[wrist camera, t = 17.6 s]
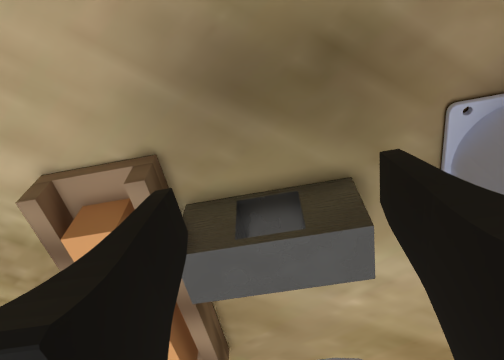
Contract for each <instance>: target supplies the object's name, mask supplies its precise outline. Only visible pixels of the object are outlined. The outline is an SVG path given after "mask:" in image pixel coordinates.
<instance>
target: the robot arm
mask: <svg viewBox="0 0 504 360" xmlns="http://www.w3.org/2000/svg"><path fill="white" fill-rule="evenodd" d="M466 107H469V109H468V111H467V112H465V113H463V110H464V109H465V108H466ZM380 203H381V205H382V208H383V211H384V213H385V216H386V218H387V221H388V223H389V226H390V227H391V229H392V231H393V233H394V235H395V236H396V238H397V240H398V242H399V243H400V245H401V247H402V249H403V250H404V252H405V254H406V256H407V257H408V259H409V261H410V263H411V264H412V266H413V268H414V269H415V271H416V273H417V275H418V276H419V278H420V280H421V282H422V284H423V286H424V288H425V290H426V292H427V294H428V297H429V299H430V301H431V304H432V306H433V308H434V311H435V313H436V315H437V317H438V320H439V322H440V325H441V327H442V330H443V332H444V334H445V337H446V339H447V342H448V344H449V347H450V349H451V352H452V354H453V357H454V360H504V94H499V95H493V96H488V97H482V98H477V99H471V100H466V101H460V102H456V103H453V104H451V105H450V106H449V107H448V109H447V112H446V122H445V133H444V144H443V155H442V166H441V169H439V168H436V167H434V166H432V165H430V164H428V163H426V162H424V161H422V160H421V159H419V158H417V157H415V156H413V155H411V154H409V153H407V152H404V151H402V150H400V149H395V150H389V151H383V152H380ZM187 243H188V231H187V228H186V225H185V222H184V220H183V217H182V214H181V212H180V209H179V206H178V203H177V201H176V198H175V195H174V193H173V190H172V188H168V189H162V190H156V191H154V192H153V193H152V194H151V195H149V196H148V197H147V198H146V199H145V200H144V201H143V202H142V203H141V204H140V205H139V206H138V207H137V208H136V209H135V210H134V211H133V212H132V213H131V214H130V215H129V216H128V217H127V218H126V219H125V220H124V221H123V222H122V223H121V224H120V225H119V226H117V227H116V228H115V229H114V230H113V231H112V232H111V233H110V234H109V235H107V236H106V237H105V238H104V239H103V240H102V241H101V242H100V243H98V244H97V245H96V246H95V247H94V248H92V249H91V250H90V251H89V252H87V253H86V254H85V255H83V256H82V257H81V258H79V259H78V260H77V261H75V262H74V263H73V264H71V265H70V266H68V267H67V268H65V269H64V270H62V271H61V272H59V273H58V274H56V275H55V276H53V277H52V278H50V279H49V280H47V281H45V282H44V283H42V284H41V285H39V286H37V287H36V288H34V289H32V290H30V291H29V292H27V293H25V294H23V295H21V296H20V297H18V298H16V299H14V300H12V301H10V302H9V303H7V304H5V305H3V306H1V307H0V360H168V352H169V343H170V334H171V326H172V320H173V314H174V309H175V305H176V301H177V296H178V292H179V288H180V283H181V279H182V275H183V270H184V265H185V261H186V255H187ZM321 360H362V359H354V358H329V359H321Z"/></svg>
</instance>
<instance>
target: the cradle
mask: <svg viewBox="0 0 504 360" xmlns="http://www.w3.org/2000/svg"><path fill="white" fill-rule="evenodd" d="M162 189H168V185H167V182H166V180H165V177H164V174H163V172H162V169H161V166H160V164H159V161H158V158H157V156H156V155H152V156H147V157H141V158H136V159H130V160H125V161H119V162H113V163H108V164H102V165H97V166H91V167H86V168H80V169H75V170H69V171H64V172H58V173H53V174H47V175H42V176H40V177H39V179H38V180H37V181H36V182H35V183H34V184H33V185H32V186H31V187H30V188H29V189H28V190H27V191H26V192H25V193H24V194H23V196H22V197H21V198H20V199H19V200H18V201H17V202H16V205H17V206H18V208H19V209H20V211H21V212H22V214H23V215H24V217H25V218H26V220H27V221H28V223H29V224H30V226H31V227H32V229H33V230H34V232H35V234H36V235H37V237H38V238H39V240H40V241H41V243H42V244H43V246H44V247H45V249H46V250H47V252H48V253H49V255H50V256H51V258H52V259H53V261H54V262H55V264H56V266H57V267H58V269H59V270H60V272H61V271H62V270H64V269H65V268H67V267H68V266H70V265H71V264H73V263H74V261H73V260H72V258H71V256H70V255H69V253H68V251H67V250H66V248H65V247H64V245H63V243H62V242H61V238H62V237H63V235H64V234H65V232H66V231H67V229H68V228H69V226H70V225H71V223H72V221H73V220H74V218H75V217H76V215H77V214H78V212H79V211H80V209H81V208H82V206H87V205H93V204H99V203H105V202H111V201H117V200H123V199H129V198H130V200H131V202H132V204H133V207H134V209H136V208H137V207H138V206H139V205H140V204H141V203H142V202H143V201H144V200H145V199H146V198H147V197H148V196H149V195H151V194H152V193H153V192H154V191H156V190H162ZM176 302H177V304H178V307H179V309H180V311H181V313H182V316H183V318H184V320H185V322H186V324H187V327H188V329H189V331H190V333H191V336H192V338H193V340H194V342H195V344H196V347H197V349H198V357H197V360H229V348H228V345H227V342H226V340H225V337H224V334H223V332H222V329H221V326H220V324H219V321H218V318H217V316H216V313H215V310H214V308H213V305H212V302H205V303H197V304H192V301H191V299H190V297H189V294H188V292H187V289H186V287H185V285H184V282H183V280H182V279H181V283H180V288H179V292H178V296H177V301H176Z"/></svg>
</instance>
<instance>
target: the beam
mask: <svg viewBox="0 0 504 360" xmlns="http://www.w3.org/2000/svg"><path fill="white" fill-rule="evenodd" d="M183 220H184V222H185V225H186V228H187V231H188V243H187V255H186V261H185V265H184V270H183V275H182V280H183V282H184V285H185V287H186V289H187V292H188V294H189V297H190V299H191V301H192V304H197V303H205V302H212V301H219V300H226V299H233V298H240V297H247V296H254V295H262V294H269V293H276V292H283V291H290V290H297V289H304V288H312V287H319V286H326V285H333V284H340V283H347V282H354V281H362V280H369V279H375V252H374V225H373V223H372V221H371V218H370V216H369V214H368V212H367V210H366V208H365V206H364V203H363V201H362V199H361V197H360V195H359V193H358V191H357V188H356V186H355V184H354V182H353V180H352V178H345V179H339V180H333V181H327V182H321V183H315V184H309V185H303V186H297V187H291V188H285V189H279V190H273V191H267V192H261V193H255V194H249V195H243V196H237V197H231V198H225V199H219V200H213V201H207V202H201V203H195V204H189V205H186V206H185V210H184V214H183Z"/></svg>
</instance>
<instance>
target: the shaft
mask: <svg viewBox="0 0 504 360" xmlns="http://www.w3.org/2000/svg"><path fill="white" fill-rule="evenodd" d="M134 210H135V209H134V207H133V204H132V202H131V200H130V198H129V199H123V200H117V201H111V202H105V203H99V204H93V205H87V206H82V208H81V209H80V211H79V212H78V214H77V215H76V217H75V218H74V220H73V221H72V223H71V225H70V226H69V228H68V229H67V231H66V232H65V234H64V235H63V237H62V238H61V242H62V243H63V245H64V247H65V248H66V250H67V251H68V253H69V255H70V256H71V258H72V260H73V261H74V262H75V261H77V260H78V259H79V258H81V257H82V256H83V255H85V254H86V253H87V252H89V251H90V250H91V249H92V248H94V247H95V246H96V245H97V244H98V243H100V242H101V241H102V240H103V239H104V238H105V237H106V236H107V235H109V234H110V233H111V232H112V231H113V230H114V229H115V228H116V227H117V226H119V225H120V224H121V223H122V222H123V221H124V220H125V219H126V218H127V217H128V216H129V215H130V214H131V213H132V212H133V211H134ZM197 357H198V349H197V347H196V344H195V342H194V340H193V338H192V336H191V333H190V331H189V329H188V327H187V324H186V322H185V320H184V318H183V316H182V313H181V311H180V309H179V307H178V304H177V302H176V305H175V309H174V314H173V320H172V326H171V334H170V343H169V352H168V360H197Z"/></svg>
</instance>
